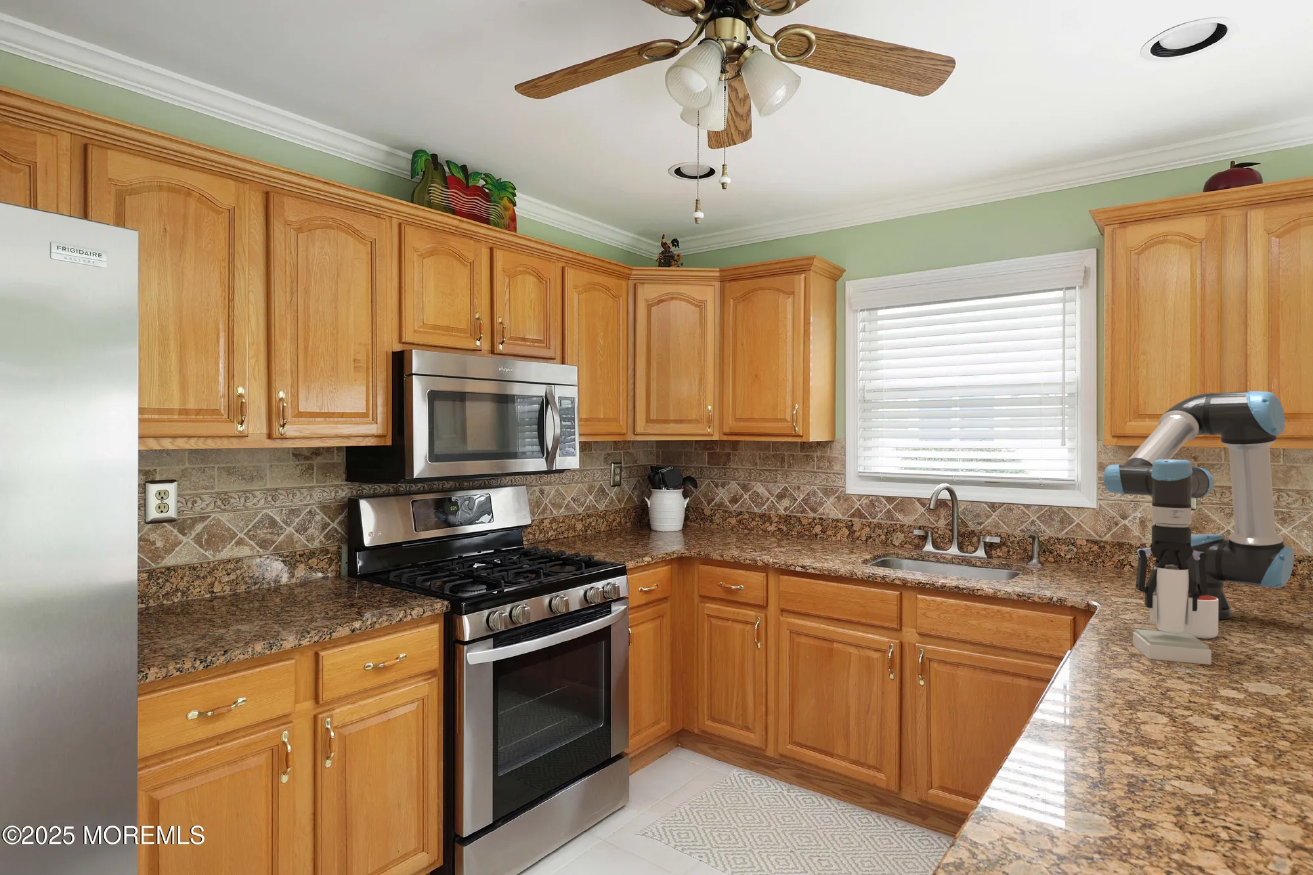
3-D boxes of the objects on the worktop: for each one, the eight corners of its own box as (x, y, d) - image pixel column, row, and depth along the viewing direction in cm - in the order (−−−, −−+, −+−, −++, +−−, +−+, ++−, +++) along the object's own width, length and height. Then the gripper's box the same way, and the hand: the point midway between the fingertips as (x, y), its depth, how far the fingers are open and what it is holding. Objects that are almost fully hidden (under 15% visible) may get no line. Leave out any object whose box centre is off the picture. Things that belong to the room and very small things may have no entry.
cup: (1226, 641, 179) (1227, 601, 179) (1181, 638, 181) (1182, 599, 181) (1204, 630, 189) (1205, 593, 189) (1162, 628, 191) (1162, 591, 191)
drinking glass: (1178, 636, 163) (1179, 571, 163) (1146, 629, 169) (1147, 566, 169) (1194, 633, 166) (1195, 568, 166) (1162, 626, 172) (1163, 564, 172)
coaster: (1190, 650, 171) (1191, 633, 171) (1211, 664, 160) (1211, 646, 160) (1132, 644, 175) (1132, 628, 175) (1148, 658, 164) (1148, 641, 164)
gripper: (1128, 524, 167) (1127, 623, 167) (1227, 528, 161) (1226, 631, 161) (1119, 521, 174) (1118, 615, 174) (1213, 525, 168) (1213, 623, 168)
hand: (1170, 623), depth 168 cm, fingers closed on drinking glass, 6 cm apart
